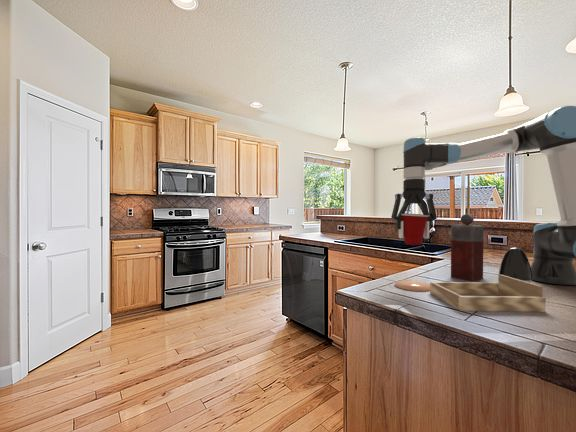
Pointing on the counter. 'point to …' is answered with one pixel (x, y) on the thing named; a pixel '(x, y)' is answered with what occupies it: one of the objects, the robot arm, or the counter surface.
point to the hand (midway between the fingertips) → (413, 237)
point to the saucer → (413, 285)
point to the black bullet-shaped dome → (516, 265)
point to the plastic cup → (413, 228)
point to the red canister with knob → (467, 250)
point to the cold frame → (510, 290)
